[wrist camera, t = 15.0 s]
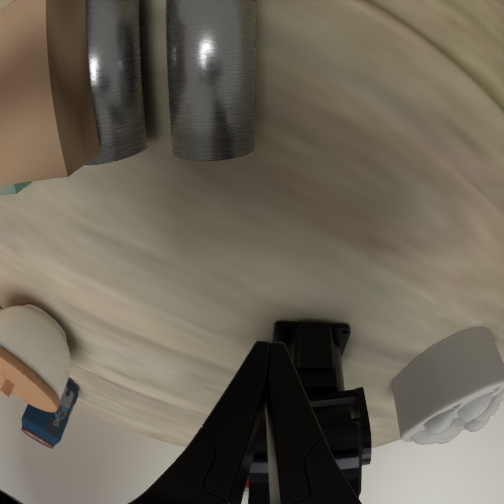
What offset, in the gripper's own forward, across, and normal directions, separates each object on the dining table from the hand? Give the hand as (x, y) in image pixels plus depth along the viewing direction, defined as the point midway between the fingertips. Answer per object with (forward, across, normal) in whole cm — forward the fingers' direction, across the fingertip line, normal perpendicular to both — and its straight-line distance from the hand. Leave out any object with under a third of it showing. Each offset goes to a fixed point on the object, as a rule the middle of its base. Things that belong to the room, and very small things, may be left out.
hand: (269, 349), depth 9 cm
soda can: (+12, +33, +32) cm, 48 cm away
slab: (+7, +15, -8) cm, 19 cm away
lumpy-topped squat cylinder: (+12, -20, +19) cm, 30 cm away
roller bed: (+11, +14, -9) cm, 20 cm away
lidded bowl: (+12, +28, +17) cm, 35 cm away
